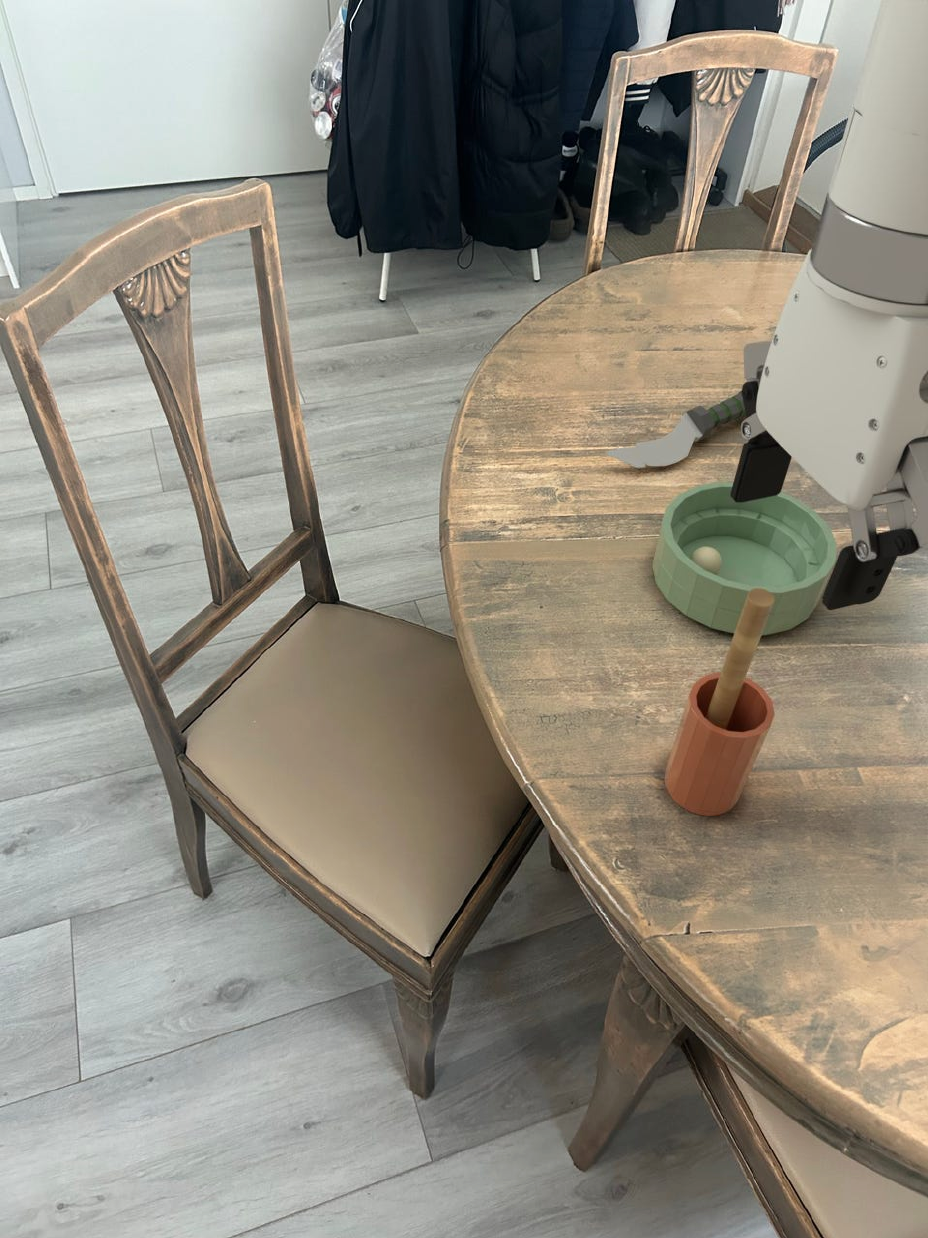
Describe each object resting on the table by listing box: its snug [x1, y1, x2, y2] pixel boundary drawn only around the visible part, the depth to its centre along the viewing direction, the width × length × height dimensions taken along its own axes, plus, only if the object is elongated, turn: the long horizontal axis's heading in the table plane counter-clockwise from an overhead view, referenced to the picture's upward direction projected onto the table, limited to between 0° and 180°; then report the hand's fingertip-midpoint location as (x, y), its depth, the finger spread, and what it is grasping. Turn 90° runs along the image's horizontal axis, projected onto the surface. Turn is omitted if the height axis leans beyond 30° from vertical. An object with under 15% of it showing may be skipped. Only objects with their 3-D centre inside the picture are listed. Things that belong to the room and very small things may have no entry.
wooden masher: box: [705, 588, 774, 730], centre depth 61 cm, size 3×2×20 cm, turn 14°
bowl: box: [651, 481, 838, 636], centre depth 83 cm, size 16×16×6 cm
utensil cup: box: [664, 671, 776, 817], centre depth 65 cm, size 6×6×10 cm
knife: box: [604, 389, 747, 469], centre depth 99 cm, size 22×4×5 cm
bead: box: [690, 547, 722, 575], centre depth 83 cm, size 3×3×3 cm
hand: (798, 545), depth 50 cm, fingers open, 9 cm apart
